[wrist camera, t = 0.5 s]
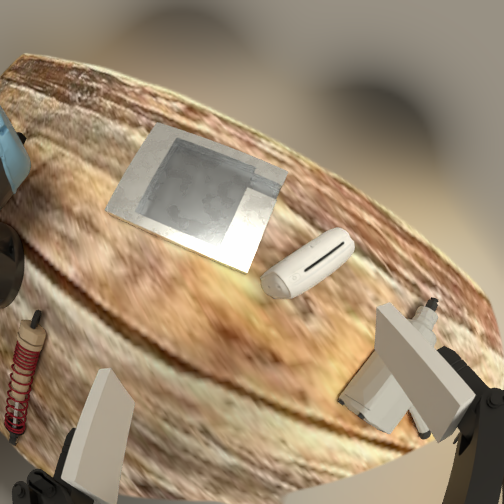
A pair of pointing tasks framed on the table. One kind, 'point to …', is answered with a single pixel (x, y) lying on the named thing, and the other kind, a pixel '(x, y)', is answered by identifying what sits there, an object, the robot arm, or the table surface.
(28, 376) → the shock absorber
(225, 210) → the plate
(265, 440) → the table surface
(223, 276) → the table surface
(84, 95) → the table surface
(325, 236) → the photo printer
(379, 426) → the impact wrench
